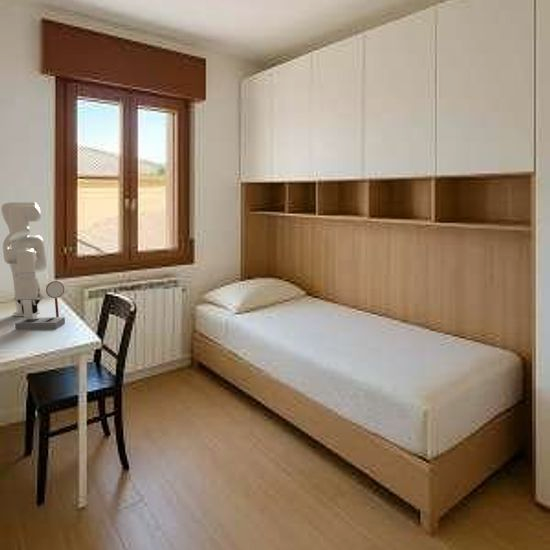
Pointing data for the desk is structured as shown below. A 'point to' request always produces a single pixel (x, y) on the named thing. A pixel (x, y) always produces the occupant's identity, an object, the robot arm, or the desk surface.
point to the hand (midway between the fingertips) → (30, 312)
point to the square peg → (28, 309)
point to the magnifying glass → (55, 292)
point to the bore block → (40, 323)
